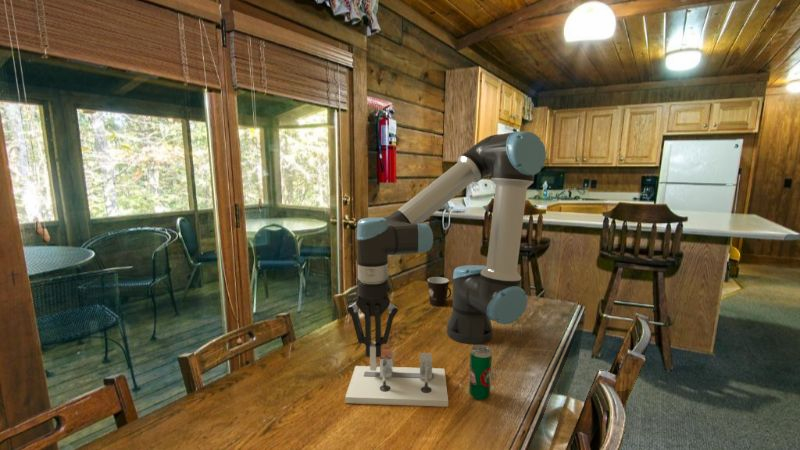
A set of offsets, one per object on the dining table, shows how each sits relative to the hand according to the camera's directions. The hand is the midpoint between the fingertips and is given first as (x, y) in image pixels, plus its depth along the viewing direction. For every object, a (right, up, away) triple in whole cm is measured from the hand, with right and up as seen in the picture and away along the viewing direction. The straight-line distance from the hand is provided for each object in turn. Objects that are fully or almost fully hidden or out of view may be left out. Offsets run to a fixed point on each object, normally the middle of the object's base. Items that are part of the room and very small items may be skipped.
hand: (373, 367), depth 96 cm
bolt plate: (+6, -4, -3) cm, 8 cm away
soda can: (+26, -5, -6) cm, 27 cm away
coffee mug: (+23, +4, +54) cm, 58 cm away
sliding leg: (+3, -2, -2) cm, 4 cm away
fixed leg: (+13, -2, -3) cm, 14 cm away
